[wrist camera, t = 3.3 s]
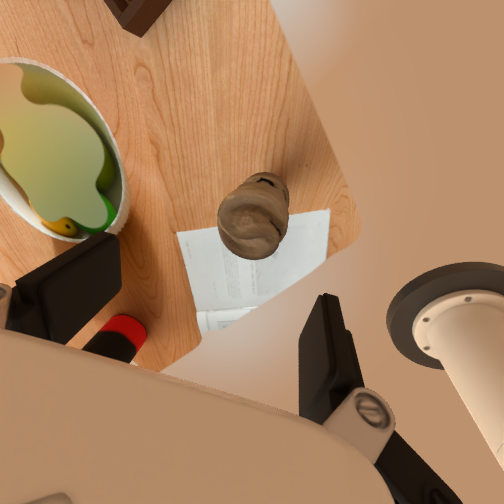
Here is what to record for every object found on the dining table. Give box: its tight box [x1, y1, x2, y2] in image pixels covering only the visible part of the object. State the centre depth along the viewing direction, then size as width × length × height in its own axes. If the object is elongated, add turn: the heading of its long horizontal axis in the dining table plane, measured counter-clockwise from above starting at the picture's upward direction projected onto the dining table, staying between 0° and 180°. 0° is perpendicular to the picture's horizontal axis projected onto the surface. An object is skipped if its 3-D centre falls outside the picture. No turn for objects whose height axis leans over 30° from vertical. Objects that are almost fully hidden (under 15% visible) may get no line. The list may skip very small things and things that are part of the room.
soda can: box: [81, 315, 146, 364], centre depth 42 cm, size 8×8×12 cm
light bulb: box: [217, 172, 289, 260], centre depth 24 cm, size 6×6×15 cm
